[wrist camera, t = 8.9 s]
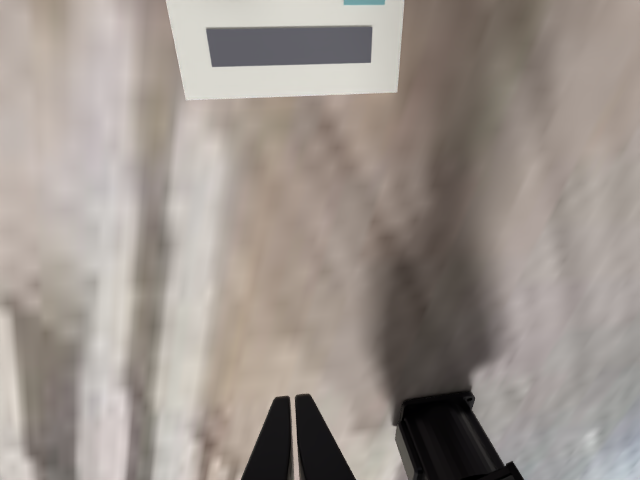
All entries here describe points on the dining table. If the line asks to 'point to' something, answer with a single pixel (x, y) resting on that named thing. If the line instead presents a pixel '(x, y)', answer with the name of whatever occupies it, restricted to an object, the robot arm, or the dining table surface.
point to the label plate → (286, 47)
